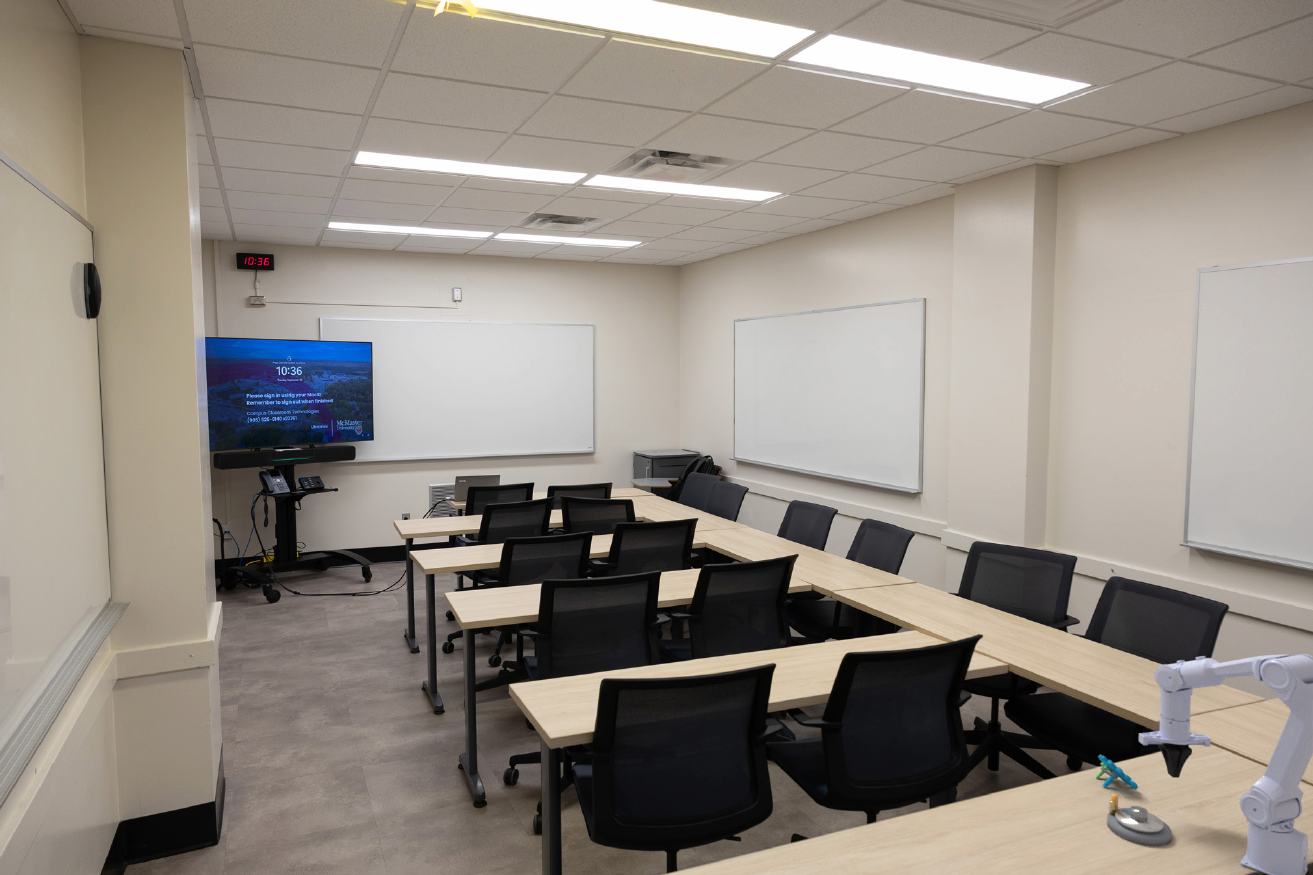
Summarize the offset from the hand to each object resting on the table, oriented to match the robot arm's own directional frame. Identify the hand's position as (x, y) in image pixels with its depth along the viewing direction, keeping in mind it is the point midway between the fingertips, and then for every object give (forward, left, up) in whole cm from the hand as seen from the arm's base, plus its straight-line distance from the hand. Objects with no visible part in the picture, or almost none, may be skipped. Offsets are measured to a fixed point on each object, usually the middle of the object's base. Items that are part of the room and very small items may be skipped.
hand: (1173, 775), depth 177 cm
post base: (+3, +13, -9) cm, 16 cm away
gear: (+14, -6, -10) cm, 18 cm away
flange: (+4, +12, -7) cm, 15 cm away
